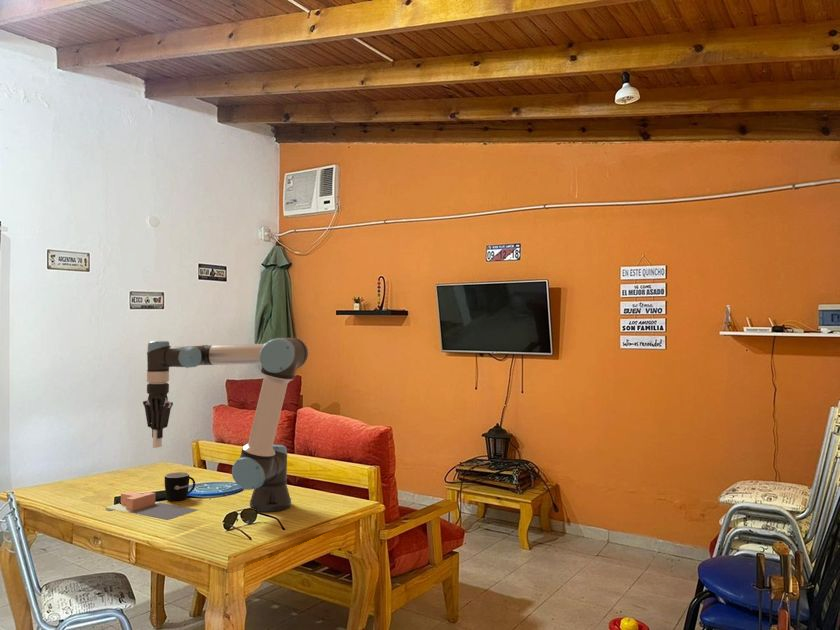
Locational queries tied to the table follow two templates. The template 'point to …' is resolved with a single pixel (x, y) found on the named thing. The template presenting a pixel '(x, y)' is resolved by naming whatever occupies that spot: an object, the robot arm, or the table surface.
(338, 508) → the table surface
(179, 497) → the mug
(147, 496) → the t block
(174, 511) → the mat
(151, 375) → the robot arm
